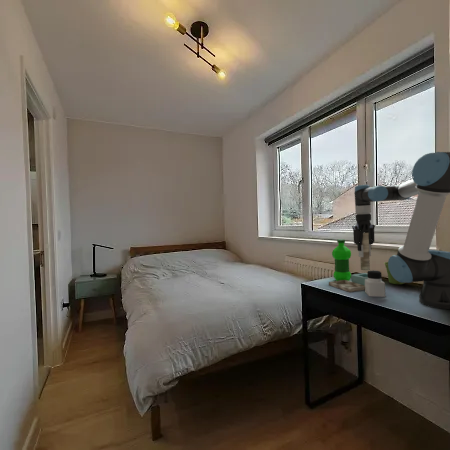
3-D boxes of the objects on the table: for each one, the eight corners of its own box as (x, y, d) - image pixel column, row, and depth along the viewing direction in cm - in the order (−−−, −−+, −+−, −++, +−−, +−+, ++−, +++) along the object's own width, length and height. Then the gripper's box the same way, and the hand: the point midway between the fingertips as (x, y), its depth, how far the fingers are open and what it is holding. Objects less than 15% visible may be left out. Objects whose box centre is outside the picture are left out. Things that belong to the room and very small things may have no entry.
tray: (366, 290, 143) (366, 286, 142) (349, 293, 139) (349, 288, 139) (344, 283, 158) (344, 279, 158) (328, 285, 154) (328, 281, 154)
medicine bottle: (385, 297, 130) (385, 272, 129) (369, 297, 131) (368, 272, 131) (380, 293, 137) (379, 269, 136) (364, 293, 138) (364, 269, 138)
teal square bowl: (379, 287, 147) (379, 276, 146) (365, 289, 144) (365, 278, 144) (365, 283, 156) (365, 272, 156) (351, 285, 153) (351, 274, 153)
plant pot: (414, 285, 147) (414, 264, 146) (392, 286, 147) (391, 265, 146) (400, 280, 158) (400, 261, 158) (380, 281, 159) (379, 262, 158)
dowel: (371, 269, 148) (370, 232, 147) (365, 270, 146) (363, 233, 146) (365, 268, 152) (363, 232, 151) (358, 269, 150) (357, 233, 150)
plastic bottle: (332, 283, 160) (330, 240, 159) (334, 278, 169) (333, 238, 168) (350, 284, 155) (349, 240, 154) (352, 280, 164) (351, 238, 163)
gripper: (370, 213, 154) (371, 254, 155) (345, 214, 149) (346, 257, 150) (381, 212, 147) (383, 255, 148) (355, 214, 142) (357, 258, 143)
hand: (364, 256), depth 149 cm, fingers closed on dowel, 4 cm apart
